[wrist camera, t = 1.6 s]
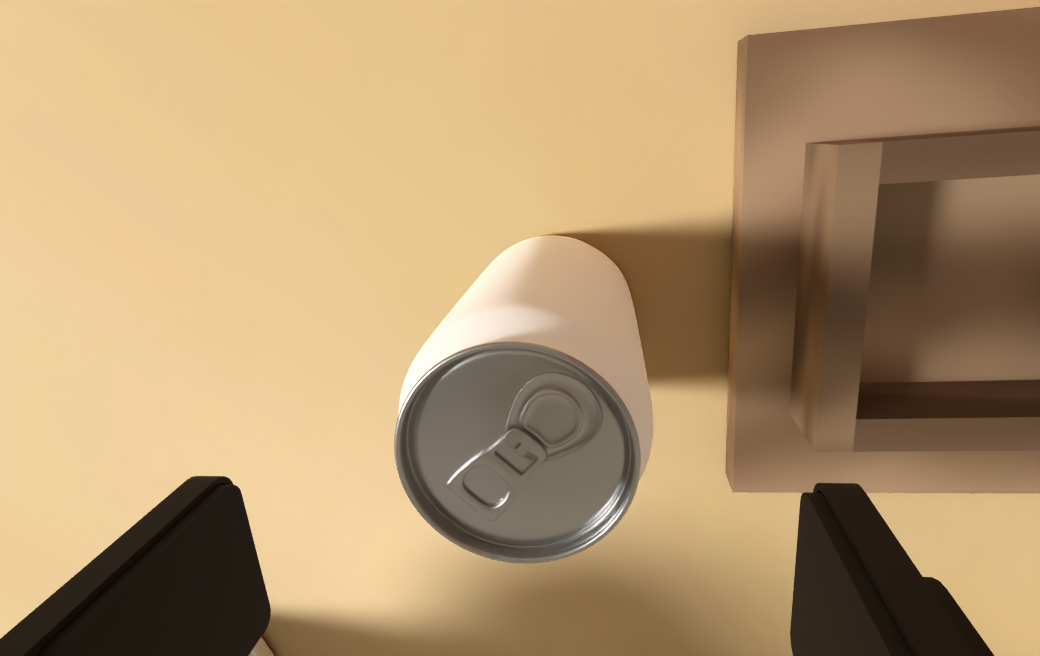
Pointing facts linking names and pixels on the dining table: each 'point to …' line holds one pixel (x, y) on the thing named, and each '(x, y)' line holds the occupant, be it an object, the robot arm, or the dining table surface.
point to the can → (529, 407)
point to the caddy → (887, 257)
